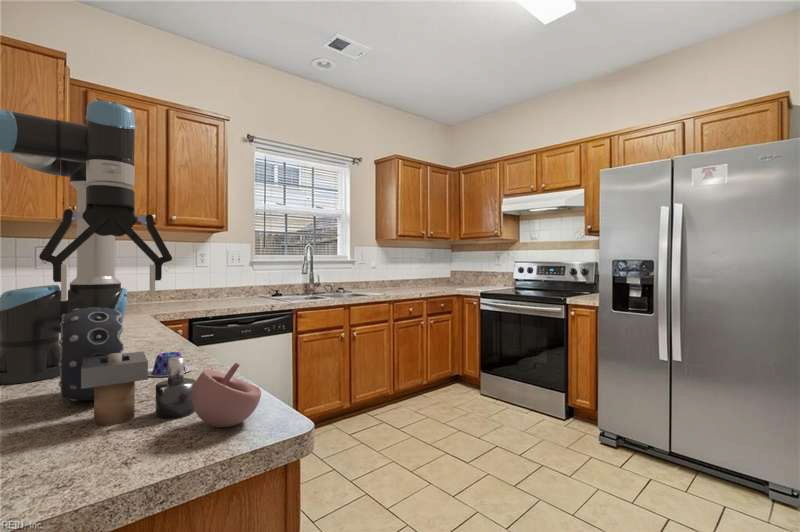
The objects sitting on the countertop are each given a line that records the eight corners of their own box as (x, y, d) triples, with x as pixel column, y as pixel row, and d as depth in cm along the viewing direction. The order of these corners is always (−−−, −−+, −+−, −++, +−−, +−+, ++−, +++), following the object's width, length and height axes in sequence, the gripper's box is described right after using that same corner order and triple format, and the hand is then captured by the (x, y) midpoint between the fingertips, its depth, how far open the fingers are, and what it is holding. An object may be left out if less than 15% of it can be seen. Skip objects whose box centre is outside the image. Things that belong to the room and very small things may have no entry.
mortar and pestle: (268, 429, 75) (268, 367, 75) (195, 444, 69) (195, 376, 68) (253, 408, 85) (253, 353, 85) (188, 420, 79) (189, 360, 79)
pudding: (138, 372, 113) (139, 353, 113) (186, 365, 121) (186, 347, 121) (148, 381, 104) (148, 361, 104) (199, 373, 112) (199, 354, 112)
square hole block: (83, 375, 80) (83, 357, 80) (143, 368, 86) (143, 351, 86) (81, 388, 72) (81, 368, 72) (147, 379, 78) (147, 361, 78)
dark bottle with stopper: (153, 411, 83) (153, 357, 83) (191, 404, 87) (192, 352, 87) (157, 422, 77) (157, 364, 77) (198, 414, 82) (198, 359, 81)
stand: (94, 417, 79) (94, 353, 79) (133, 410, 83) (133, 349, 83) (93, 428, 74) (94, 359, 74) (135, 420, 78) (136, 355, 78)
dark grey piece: (57, 417, 79) (57, 314, 79) (63, 390, 95) (64, 305, 95) (124, 406, 86) (124, 311, 85) (119, 382, 102) (120, 302, 101)
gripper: (18, 174, 67) (17, 303, 67) (187, 191, 82) (186, 297, 82) (25, 182, 73) (25, 300, 73) (181, 196, 88) (181, 294, 88)
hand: (110, 299), depth 78 cm, fingers open, 13 cm apart
